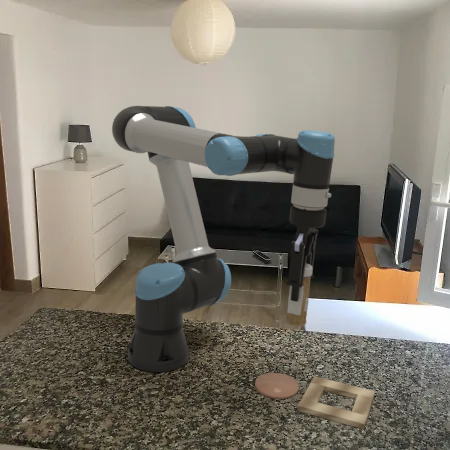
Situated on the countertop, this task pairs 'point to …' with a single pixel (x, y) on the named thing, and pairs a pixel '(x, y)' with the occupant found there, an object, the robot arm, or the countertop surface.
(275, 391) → the coaster
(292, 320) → the sprinkles bottle
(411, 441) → the countertop surface
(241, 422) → the countertop surface
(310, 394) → the collar board
